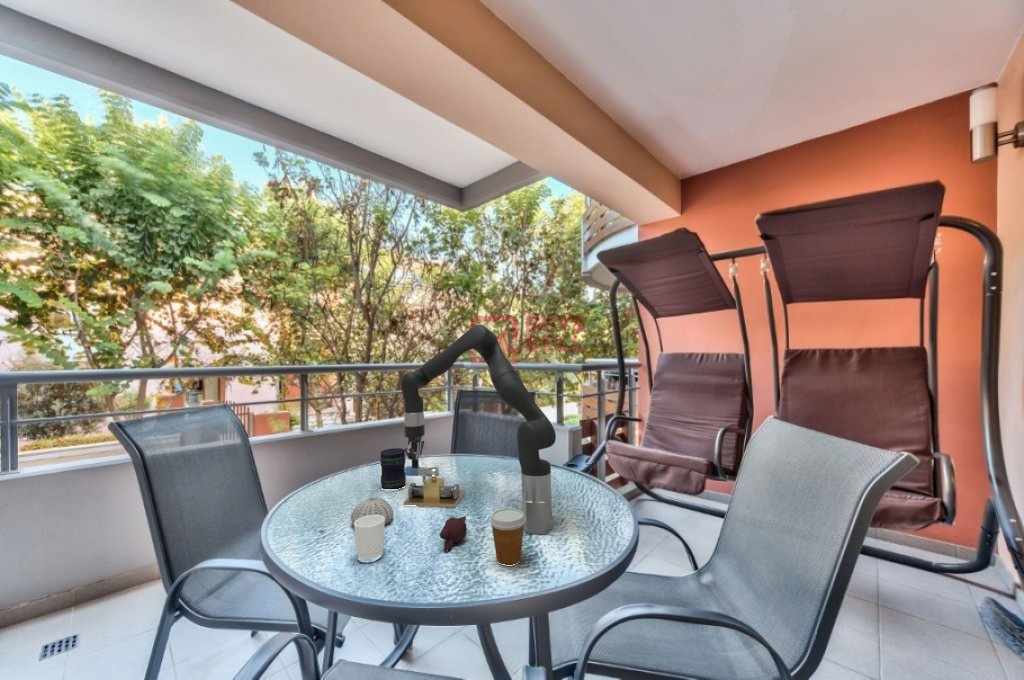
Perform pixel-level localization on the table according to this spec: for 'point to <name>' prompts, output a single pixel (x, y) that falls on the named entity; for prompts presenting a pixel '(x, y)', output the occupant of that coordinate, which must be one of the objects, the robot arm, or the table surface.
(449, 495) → the valve
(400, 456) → the storage jar
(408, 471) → the lever
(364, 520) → the white cup
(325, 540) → the table surface
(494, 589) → the table surface
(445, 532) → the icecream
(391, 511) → the sea urchin shell
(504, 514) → the disposable coffee cup
